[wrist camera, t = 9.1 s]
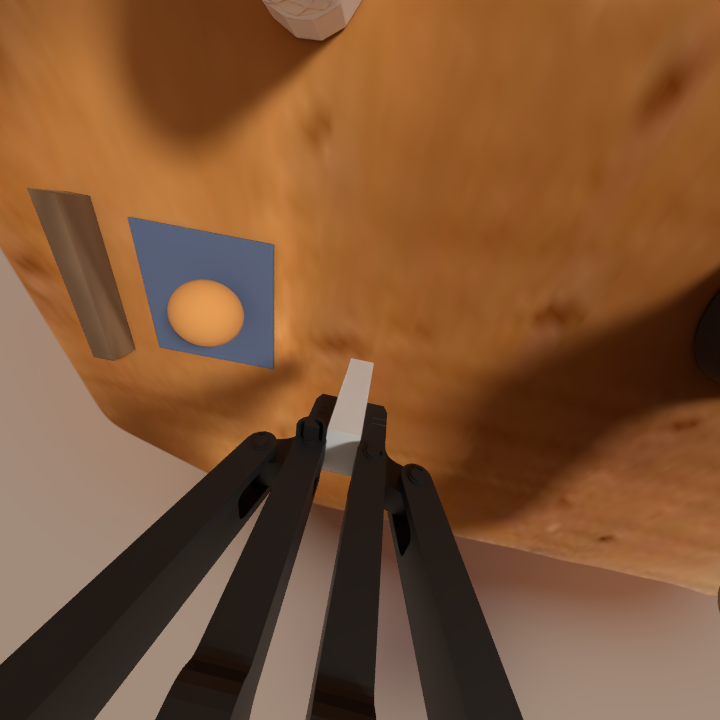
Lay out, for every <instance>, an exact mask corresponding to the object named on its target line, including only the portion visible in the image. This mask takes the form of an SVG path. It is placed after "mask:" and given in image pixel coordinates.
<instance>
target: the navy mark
mask: <svg viewBox="0 0 720 720" xmlns="http://www.w3.org/2000/svg"><path fill="white" fill-rule="evenodd" d="M128 220H129V224H130V228H131V232H132V236H133V240H134V245H135V249H136V253H137V257H138V261H139V265H140V269H141V273H142V277H143V281H144V285H145V289H146V294H147V298H148V302H149V306H150V310H151V314H152V318H153V322H154V326H155V330H156V334H157V338H158V343H159V347H161V348H166V349H171V350H176V351H181V352H187V353H192V354H197V355H202V356H207V357H213V358H218V359H223V360H228V361H234V362H239V363H244V364H249V365H254V366H260V367H265V368H270V369H274V245H273V244H268V243H263V242H257V241H252V240H247V239H242V238H237V237H231V236H226V235H221V234H216V233H210V232H205V231H200V230H195V229H189V228H184V227H179V226H174V225H169V224H163V223H158V222H153V221H148V220H142V219H137V218H132V217H128ZM193 280H211V281H215V282H218V283H221V284H223V285H225V286H226V287H228V288H229V289H230V290H232V291H233V292H234V293H235V294H236V296H237V297H238V298H239V300H240V302H241V304H242V307H243V310H244V322H243V325H242V328H241V330H240V331H239V333H238V334H237V335H236V337H234V338H233V339H232V340H231V341H229V342H227V343H225V344H223V345H219V346H213V347H205V346H199V345H195V344H192V343H190V342H188V341H186V340H185V339H183V338H182V337H181V336H179V335H178V334H177V333H176V331H175V330H174V329H173V327H172V326H171V324H170V322H169V318H168V313H167V306H168V302H169V299H170V297H171V295H172V294H173V292H174V291H175V290H176V289H177V288H178V287H180V286H181V285H183V284H185V283H187V282H190V281H193Z"/></svg>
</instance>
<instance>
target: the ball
mask: <svg viewBox="0 0 720 720" xmlns="http://www.w3.org/2000/svg"><path fill="white" fill-rule="evenodd" d="M167 313H168V318H169V322H170V324H171V326H172V327H173V329H174V330H175V331H176V333H177V334H178V335H179V336H181V337H182V338H183V339H185V340H186V341H188V342H190V343H192V344H195V345H199V346H205V347H213V346H219V345H223V344H225V343H227V342H229V341H231V340H232V339H233V338H234V337H236V335H237V334H238V333H239V331H240V330H241V328H242V325H243V322H244V310H243V307H242V304H241V302H240V300H239V298H238V297H237V296H236V294H235V293H234V292H233V291H232V290H230V289H229V288H228V287H226V286H225V285H223V284H221V283H218V282H215V281H211V280H193V281H190V282H187V283H185V284H183V285H181V286H180V287H178V288H177V289H176V290H175V291H174V292H173V294H172V295H171V297H170V299H169V302H168V306H167Z"/></svg>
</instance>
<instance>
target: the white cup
mask: <svg viewBox="0 0 720 720" xmlns="http://www.w3.org/2000/svg"><path fill="white" fill-rule="evenodd" d="M262 1H263V3H264V4H265V6H266V7H267V9H268V11H269V12H270V14H271V15H272V17H273V18H274V19H275V20H276V21H278V22H279V23H280V24H281V25H282V26H284V27H285V28H286V29H287V30H288V31H289V32H291V33H292V34H293V35H294V36H295V37H297V38H303V39H312V40H320V41H322V40H324V39H326V38H327V37H329V36H331V35H333V34H334V33H336V32H338V31H340V30H341V29H343V28H345V27H346V26H347V24H348V22H349V21H350V19H351V18H352V16H353V14H354V13H355V11H356V10H357V8H358V6H359V5H360V3H361V2H362V0H262Z"/></svg>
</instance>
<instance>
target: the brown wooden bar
mask: <svg viewBox="0 0 720 720" xmlns="http://www.w3.org/2000/svg"><path fill="white" fill-rule="evenodd" d="M27 189H28V192H29V194H30V197H31V199H32V202H33V204H34V207H35V209H36V212H37V214H38V217H39V220H40V222H41V225H42V227H43V230H44V232H45V235H46V237H47V240H48V242H49V245H50V247H51V250H52V252H53V255H54V258H55V260H56V263H57V265H58V268H59V270H60V273H61V275H62V278H63V280H64V283H65V285H66V288H67V290H68V293H69V296H70V298H71V301H72V303H73V306H74V308H75V311H76V313H77V316H78V318H79V321H80V323H81V326H82V328H83V331H84V333H85V336H86V339H87V341H88V344H89V346H90V349H91V351H92V354H93V356H94V357H96V358H101V359H107V360H112V361H115V360H116V359H118V358H120V357H122V356H124V355H126V354H128V353H130V352H132V351H133V350H135V346H134V343H133V340H132V336H131V333H130V330H129V326H128V323H127V320H126V316H125V313H124V309H123V306H122V303H121V299H120V296H119V293H118V289H117V286H116V283H115V279H114V276H113V273H112V269H111V266H110V263H109V259H108V256H107V252H106V249H105V246H104V242H103V239H102V236H101V232H100V229H99V226H98V222H97V219H96V216H95V212H94V209H93V206H92V202H91V199H90V196H87V195H82V194H77V193H72V192H66V191H55V190H42V189H30V188H27Z"/></svg>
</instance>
